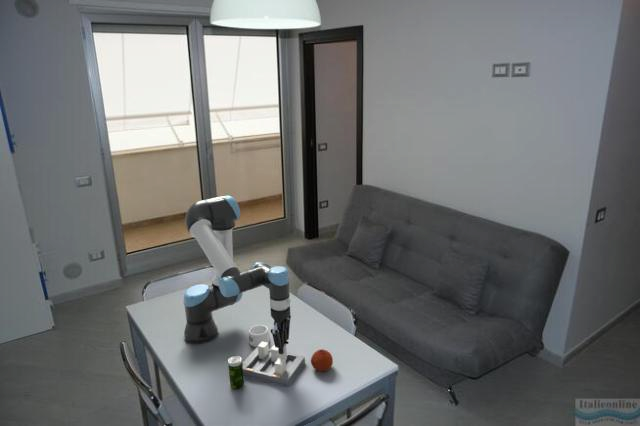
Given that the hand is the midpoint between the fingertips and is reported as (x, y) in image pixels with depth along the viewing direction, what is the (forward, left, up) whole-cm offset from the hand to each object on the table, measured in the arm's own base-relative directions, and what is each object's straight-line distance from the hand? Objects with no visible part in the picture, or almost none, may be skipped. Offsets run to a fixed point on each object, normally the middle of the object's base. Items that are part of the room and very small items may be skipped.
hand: (282, 358), depth 180 cm
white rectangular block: (-12, +5, -5) cm, 14 cm away
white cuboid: (-6, +5, -5) cm, 9 cm away
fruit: (+13, +8, -7) cm, 17 cm away
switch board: (-6, +1, -6) cm, 9 cm away
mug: (-22, +17, -7) cm, 28 cm away
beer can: (-13, -14, -7) cm, 20 cm away
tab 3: (0, -3, -5) cm, 6 cm away
